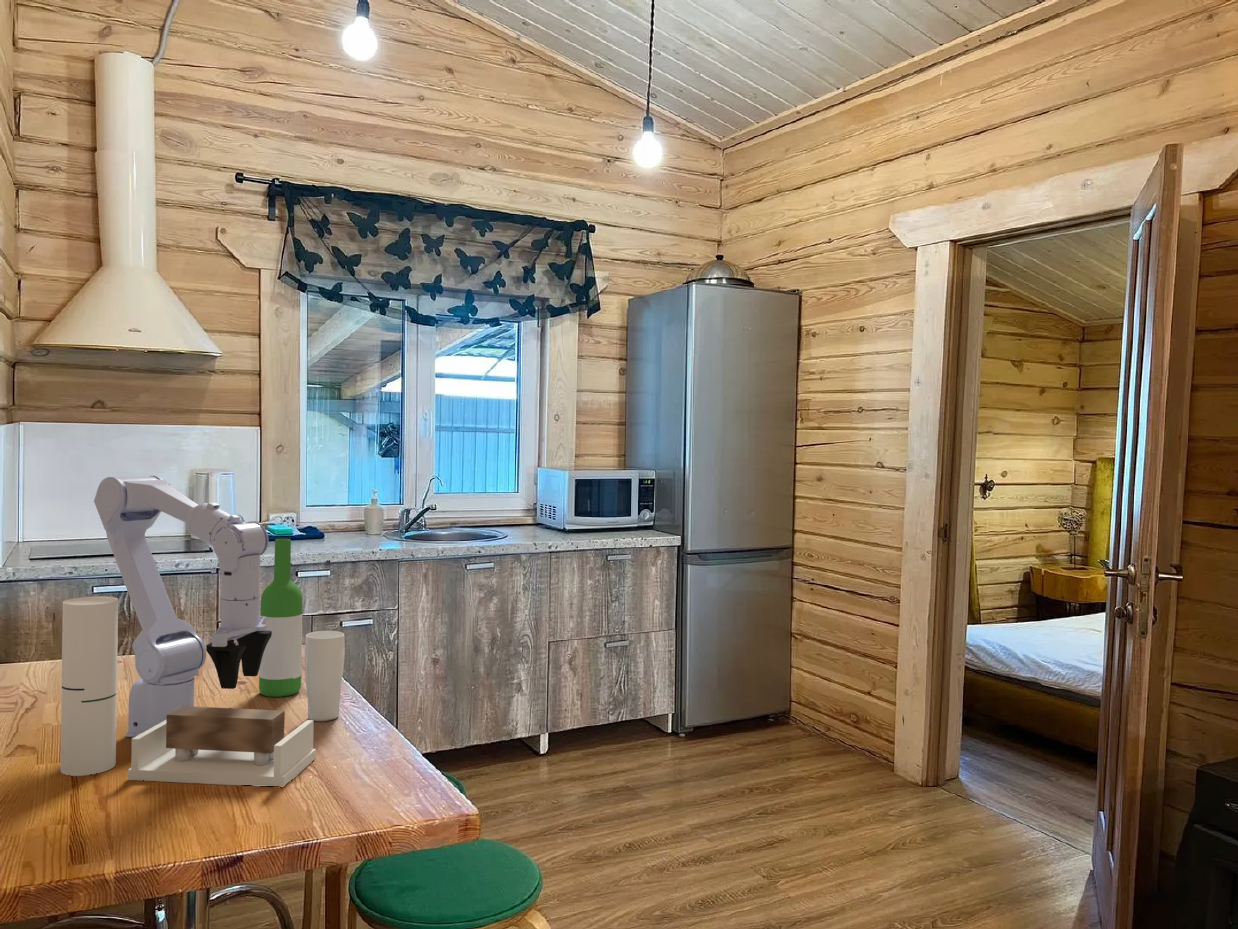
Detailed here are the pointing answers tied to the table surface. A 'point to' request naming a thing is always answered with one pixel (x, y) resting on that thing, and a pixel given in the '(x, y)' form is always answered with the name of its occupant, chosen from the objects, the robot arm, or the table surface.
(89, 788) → the table surface
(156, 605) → the robot arm
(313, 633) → the drinking glass
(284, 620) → the wine bottle
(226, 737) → the brown wooden bar
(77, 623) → the cylindrical container
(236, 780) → the shelf stand
